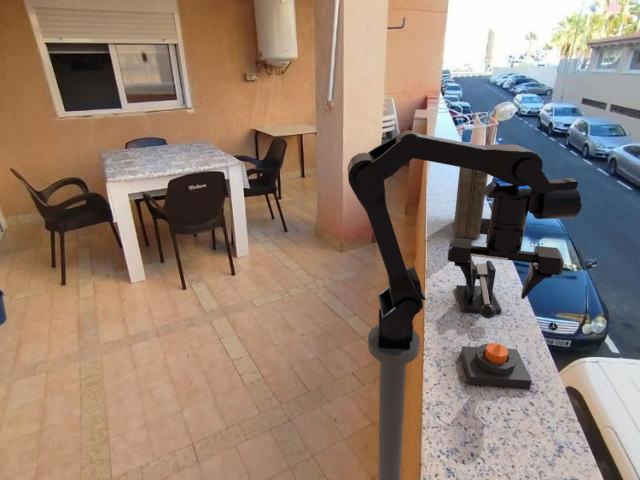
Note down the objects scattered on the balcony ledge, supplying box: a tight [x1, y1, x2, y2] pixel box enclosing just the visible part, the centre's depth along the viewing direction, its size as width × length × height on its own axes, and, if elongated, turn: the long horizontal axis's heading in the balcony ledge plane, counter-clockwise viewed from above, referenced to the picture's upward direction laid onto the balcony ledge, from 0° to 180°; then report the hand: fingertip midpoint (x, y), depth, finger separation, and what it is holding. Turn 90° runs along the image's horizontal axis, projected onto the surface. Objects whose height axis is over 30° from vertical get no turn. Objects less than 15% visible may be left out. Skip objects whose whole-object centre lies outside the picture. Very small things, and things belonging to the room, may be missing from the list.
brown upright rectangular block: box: [453, 167, 489, 239], centre depth 123 cm, size 19×8×25 cm, turn 161°
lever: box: [475, 263, 496, 320], centre depth 83 cm, size 13×3×3 cm, turn 172°
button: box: [485, 342, 508, 364], centre depth 67 cm, size 4×4×2 cm
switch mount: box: [455, 259, 502, 315], centre depth 87 cm, size 10×8×10 cm
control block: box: [460, 343, 532, 390], centre depth 68 cm, size 10×8×4 cm
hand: (495, 293), depth 72 cm, fingers open, 9 cm apart
